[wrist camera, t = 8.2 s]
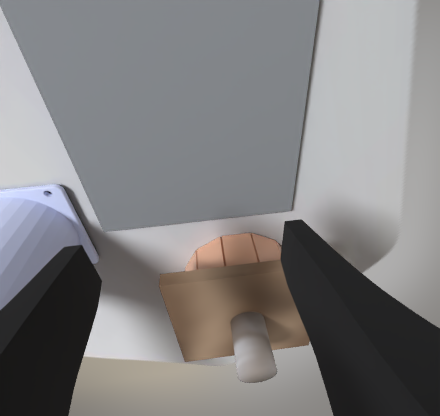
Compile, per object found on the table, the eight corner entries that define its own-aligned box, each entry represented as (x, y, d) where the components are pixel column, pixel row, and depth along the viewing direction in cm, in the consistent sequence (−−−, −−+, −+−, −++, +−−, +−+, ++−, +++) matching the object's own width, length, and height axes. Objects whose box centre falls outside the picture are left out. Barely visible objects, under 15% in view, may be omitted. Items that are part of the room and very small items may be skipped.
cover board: (185, 351, 26) (185, 413, 22) (160, 274, 19) (153, 347, 15) (304, 334, 26) (325, 392, 22) (326, 253, 19) (363, 319, 15)
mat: (105, 227, 21) (103, 232, 21) (-4, -19, 12) (-12, -19, 11) (289, 206, 22) (291, 210, 21) (320, -42, 13) (325, -44, 12)
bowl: (193, 305, 29) (194, 346, 26) (179, 241, 23) (177, 284, 19) (282, 293, 30) (295, 333, 26) (291, 227, 23) (310, 267, 20)
